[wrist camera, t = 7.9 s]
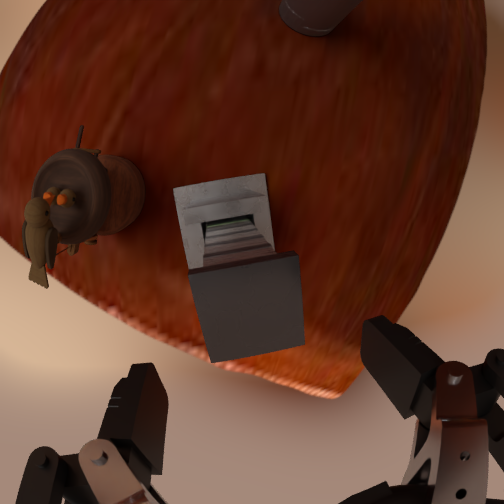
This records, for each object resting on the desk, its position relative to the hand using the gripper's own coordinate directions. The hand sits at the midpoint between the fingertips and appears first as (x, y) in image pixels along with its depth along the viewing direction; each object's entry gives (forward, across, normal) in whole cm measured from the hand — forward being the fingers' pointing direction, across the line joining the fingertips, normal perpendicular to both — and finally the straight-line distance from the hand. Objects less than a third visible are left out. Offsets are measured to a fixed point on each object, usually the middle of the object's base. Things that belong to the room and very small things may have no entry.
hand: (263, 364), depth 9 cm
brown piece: (+29, +15, -8) cm, 33 cm away
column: (+22, 0, 0) cm, 22 cm away
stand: (+29, 0, 0) cm, 29 cm away
